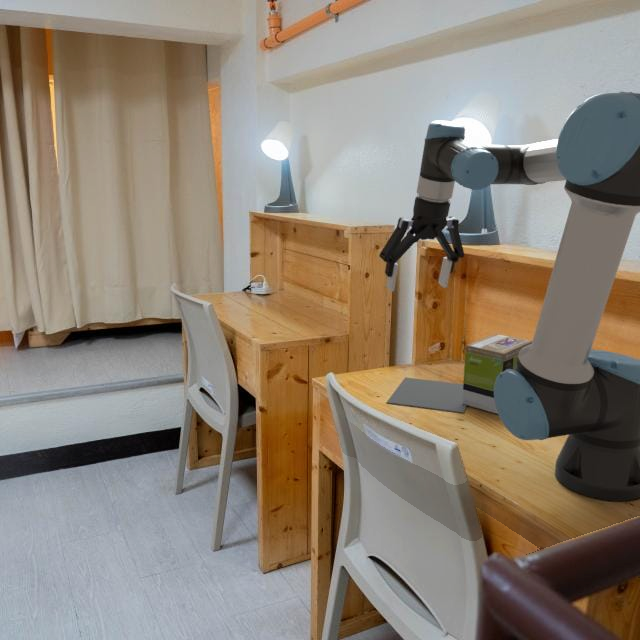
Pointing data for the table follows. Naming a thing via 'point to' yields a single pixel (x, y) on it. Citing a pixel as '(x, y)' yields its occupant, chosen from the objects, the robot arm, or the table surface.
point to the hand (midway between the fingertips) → (416, 287)
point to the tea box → (488, 368)
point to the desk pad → (429, 395)
